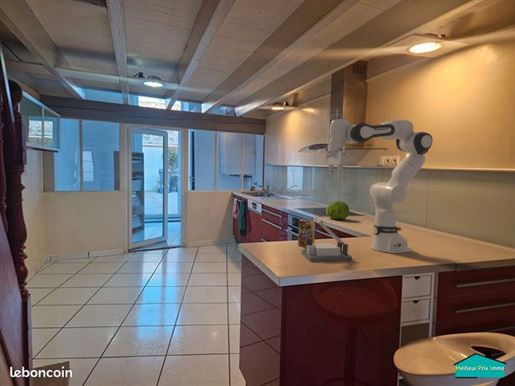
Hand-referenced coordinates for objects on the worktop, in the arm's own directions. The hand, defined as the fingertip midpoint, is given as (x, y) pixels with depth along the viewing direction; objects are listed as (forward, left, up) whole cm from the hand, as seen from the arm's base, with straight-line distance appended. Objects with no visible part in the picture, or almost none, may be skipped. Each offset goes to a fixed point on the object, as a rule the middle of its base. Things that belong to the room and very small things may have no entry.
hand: (335, 173), depth 174 cm
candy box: (+10, -13, -44) cm, 47 cm away
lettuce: (-52, -110, -44) cm, 129 cm away
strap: (+6, +10, -31) cm, 33 cm away
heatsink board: (+7, +10, -43) cm, 45 cm away
